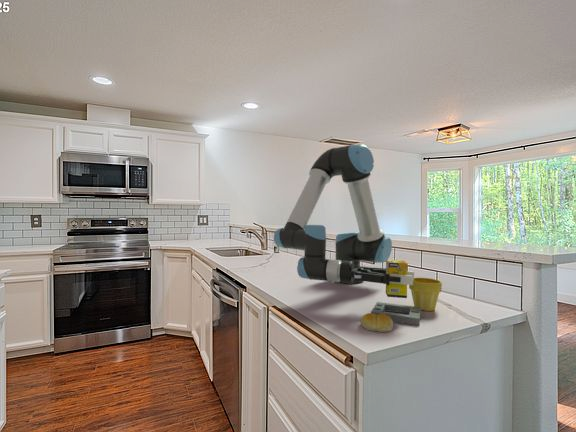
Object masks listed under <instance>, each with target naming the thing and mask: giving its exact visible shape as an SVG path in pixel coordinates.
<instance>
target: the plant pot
mask: <svg viewBox="0 0 576 432" xmlns="http://www.w3.org/2000/svg"><path fill="white" fill-rule="evenodd" d="M442 285H443V284H442V281H441V280H439V279H436V278H435V279H434V278H430V277H420V276H419V277H415V276H414V280H413V285H408V289H409V290H410V292H411V296H412V302H413V306H414V307H421V311H424V312H431V311H432V312H433V311H436V306H437V302H438V300H439V299H438V298H439V297H440V296H439V295H440V293H441V292H442V289H443V288H442V287H443V286H442Z"/></svg>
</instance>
